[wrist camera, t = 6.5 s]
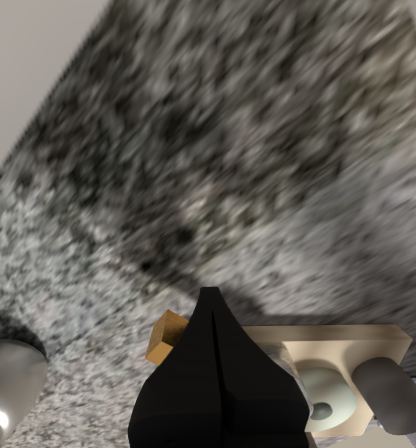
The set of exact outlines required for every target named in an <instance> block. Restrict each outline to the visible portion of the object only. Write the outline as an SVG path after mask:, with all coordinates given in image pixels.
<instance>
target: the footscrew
mask: <svg viewBox="0 0 416 448" xmlns="http://www.w3.org/2000/svg"><path fill="white" fill-rule="evenodd" d="M188 322H189V321H188V320H187V319H185V318H183V317H181V316H179V315H178V314H176V313H174V312H172V311H170V310H169V309H168V310H167V311H166V312H165V313H164V314H163V315H162V317H161V318H160V319H159V320H158V321H157V322H156V323H155V324H154V327H153V331H152V335H151V338H150V342H149V346H148V349H147V353H146V357H145V359H146V360H148V361H151V362H153V363H155V364H157V365H160V364H161V363H162V361H163V360H164V359H165V358H166V356H167V355H168V354H169V352H170V351H171V350H172V348H173V347H174V346H175V344H176V343H177V341H178V339H179V338H180V336H181V335H182V333H183V331H184V330H185V328H186V326H187V324H188ZM260 348H261V349H262V350H263V351H264V352H265V353H266V354H267V355H268V356H269V357H270V358H271V359H272V360H273V361H274V362H275V363H276V364H278V365H279V366H280V367H281V368H283V369H284V370H285V371H286V372H288V373H289V374H290V375H291V376H293V377H294V378H295V380H296V382H297V384H298V385H299V387H300V389H301V391H302V393H303V395H304V397H305V399H306V401H307V403H308V406H309V409H310V416H311V415H312V413H313V404H312V401H311V399H310V397H309V395H308V393H307V390H306V388H305V386H304V384H303V381H302V379H301V377H300V375H299V373H298V370H297V368H296V366H295V364H294V362H293V359H292V357H291V355H290V353H289V352H288V351H287V350H286V349H284V348H282V347H280V346H274V345H269V346H262V347H260ZM310 416H309V418H310Z"/></svg>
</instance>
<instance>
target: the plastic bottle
mask: <svg viewBox="0 0 416 448" xmlns="http://www.w3.org/2000/svg"><path fill="white" fill-rule="evenodd" d="M47 369H48V365H47V361H46V359H45V357H44V356H43V355H42V353H41V352H40V351H38V350H37V349H36V348H34V347H33V346H31V345H29V344H27V343H25V342H22V341H18V340H13V339H0V444H2V443H3V442H4V441H5V440H6V438H7V437H8V436H9V435H10V434H11V433H12V432H13V430H14V429H15V428H16V427H17V426H18V424H19V423H20V422H21V421H22V419H23V418H24V417H25V416H26V414H27V413H28V412H29V411H30V409H31V408H32V407H33V406H34V404H35V402H36V400H37V399H38V397H39V395H40V393H41V391H42V389H43V387H44V385H45V382H46V380H47Z"/></svg>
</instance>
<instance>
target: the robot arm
mask: <svg viewBox="0 0 416 448" xmlns="http://www.w3.org/2000/svg"><path fill="white" fill-rule="evenodd" d="M411 379H412V380H413V381H414V382H415V383H416V378H411ZM309 416H310V409H309V406H308V403H307V401H306V399H305V397H304V395H303V393H302V391H301V389H300V387H299V385H298V384H297V382H296V380H295V378H294V377H293V376H291V375H290V374H289V373H288V372H286V371H285V370H284V369H283V368H281V367H280V366H279V365H278V364H276V363H275V362H274V361H273V360H272V359H271V358H270V357H269V356H268V355H267V354H266V353H265V352H264V351H263V350H262V349H261V348H260V347H259V346H258V345H257V344H256V343H255V342H254V341H253V340H252V339H251V338H250V337H249V335H248V334H247V333H246V332H245V331H244V329H243V328H242V327H241V325H240V324H239V323H238V321H237V320H236V318H235V317H234V315H233V314H232V312H231V311H230V309H229V307H228V306H227V304H226V302H225V300H224V298H223V296H222V294H221V292H220V290H219V288H218V287H202V288H200V295H199V298H198V302H197V304H196V307H195V309H194V312H193V314H192V316H191V318H190V320H189V322H188V324H187V326H186V328H185V330H184V331H183V333H182V335H181V336H180V338H179V339H178V341H177V343H176V344H175V346H174V347H173V348H172V350H171V351H170V352H169V354H168V355H167V356H166V358H165V359H164V360H163V361H162V363H161V364H160V365H159V366H158V367H157V368H156V370H155V371H154V372H153V373H152V374H151V375H150V376H149V377H148V379H147V380H146V381H145V383H144V385H143V387H142V389H141V391H140V393H139V395H138V398H137V400H136V403H135V406H134V408H133V411H132V415H131V419H130V422H129V426H128V439H129V444H130V448H309V442H308V439H307V436H306V434H305V428H306V425H307V422H308V419H309ZM377 424H378V425H379V427H380V428H383V426H382V425H381V424H380V422H379V421H377ZM406 436H407V437H408V439H409V440H410V441H411V443H412V444H413V446H414V447H415V448H416V432H415V433H412V434H407V435H406Z"/></svg>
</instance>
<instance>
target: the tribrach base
mask: <svg viewBox="0 0 416 448" xmlns="http://www.w3.org/2000/svg"><path fill="white" fill-rule="evenodd" d="M241 327H242V328H243V329H244V331H245V332H246V333H247V334H248V335H249V337H250V338H251V339H252V340H253V341H254V342H255V343H256V344H257V345H258V346H259V347H262V346H269V345H274V346H280V347H282V348H284V349H286V350H287V351H288V352H289V353H290V355H291V357H292V359H293V362H294V364H295V366H296V368H297V370H298V373H299V375H300V377H301V379H302V381H303V384H304V386H305V388H306V390H307V393H308V395H309V397H310V399H311V401H312V404H313V413H312V415H311V416H310V418H309V419H308V422H307V425H306V428H305V434H306V436H307V439H308V442H309V448H317V446H316V444H315V441H314V439H313V438H314V437H338V436H361V435H362V434H363V433H364V431H365V429H366V427H367V425H368V423H369V421H370V419H371V417H372V416H373V414H374V415H375V416H376V418H377V419H378V421H379V422H380V424H381V425H382V426H383V428H384V429H385V431H386V432H388V433H390V434H393V435H407V434H412V433H415V432H416V383H415V382H414V381H413V380H412V379H411V378H410V377H409V376H408V375H407V374H406V373H405V372H404V371H403V369H402V368H401V367H400V366H399V365H400V363H401V361H402V359H403V357H404V355H405V353H406V352H407V350H408V348H409V346H410V344H411V342H412V340H413V339H412V338H411V337H410V336H409V335H407V334H406V333H405V332H404V331H403V330H402V329H401V328H399V327H398V326H397V325H396V324H368V325H294V326H241Z"/></svg>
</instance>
